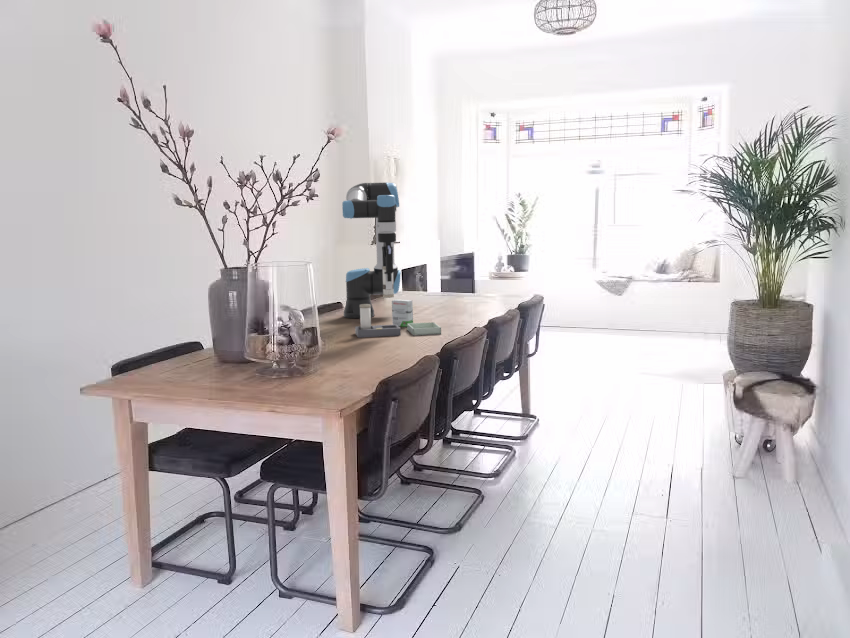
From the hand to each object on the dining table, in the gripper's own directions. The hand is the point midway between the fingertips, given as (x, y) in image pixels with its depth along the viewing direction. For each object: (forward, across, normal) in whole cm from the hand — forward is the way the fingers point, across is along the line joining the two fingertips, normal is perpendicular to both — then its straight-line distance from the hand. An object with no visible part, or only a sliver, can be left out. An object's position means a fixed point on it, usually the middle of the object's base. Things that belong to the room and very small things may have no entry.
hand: (388, 288), depth 297 cm
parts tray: (+19, 0, +15) cm, 25 cm away
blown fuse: (+4, 0, 0) cm, 4 cm away
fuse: (+19, 0, -10) cm, 22 cm away
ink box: (+20, -18, +9) cm, 28 cm away
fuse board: (+19, 0, -5) cm, 20 cm away
